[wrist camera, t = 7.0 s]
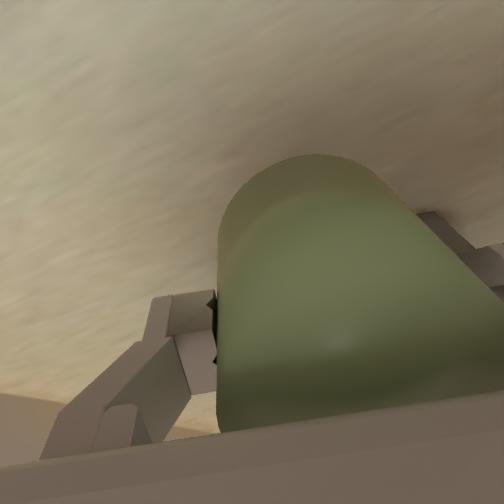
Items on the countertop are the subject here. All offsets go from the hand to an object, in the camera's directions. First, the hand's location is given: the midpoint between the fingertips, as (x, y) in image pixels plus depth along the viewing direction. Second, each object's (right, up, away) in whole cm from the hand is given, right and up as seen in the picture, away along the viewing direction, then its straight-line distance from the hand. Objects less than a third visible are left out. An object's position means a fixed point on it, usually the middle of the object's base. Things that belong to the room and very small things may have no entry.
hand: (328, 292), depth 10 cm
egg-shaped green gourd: (0, +1, +2) cm, 3 cm away
